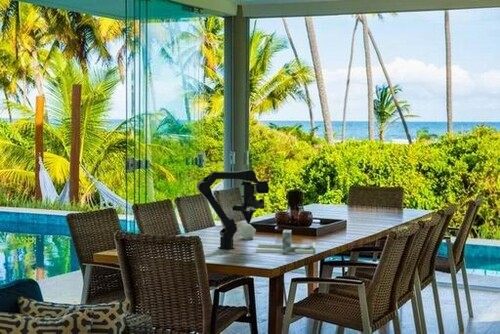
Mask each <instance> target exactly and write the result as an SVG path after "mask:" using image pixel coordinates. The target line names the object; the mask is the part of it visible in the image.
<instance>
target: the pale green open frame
mask: <svg viewBox="0 0 500 334" xmlns="http://www.w3.org/2000/svg"><path fill="white" fill-rule="evenodd" d="M309 245H310V250H295V254H314V253H315V254H316V242H312V244H309ZM257 247H258V248H256V249H255V253H272V254H273V253H279V254H280V253H281V254H283V252H285V251H284V249H282V243H280V244H279V243H277V244H275V243H273V244H272V243H258V244H257Z"/></svg>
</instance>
